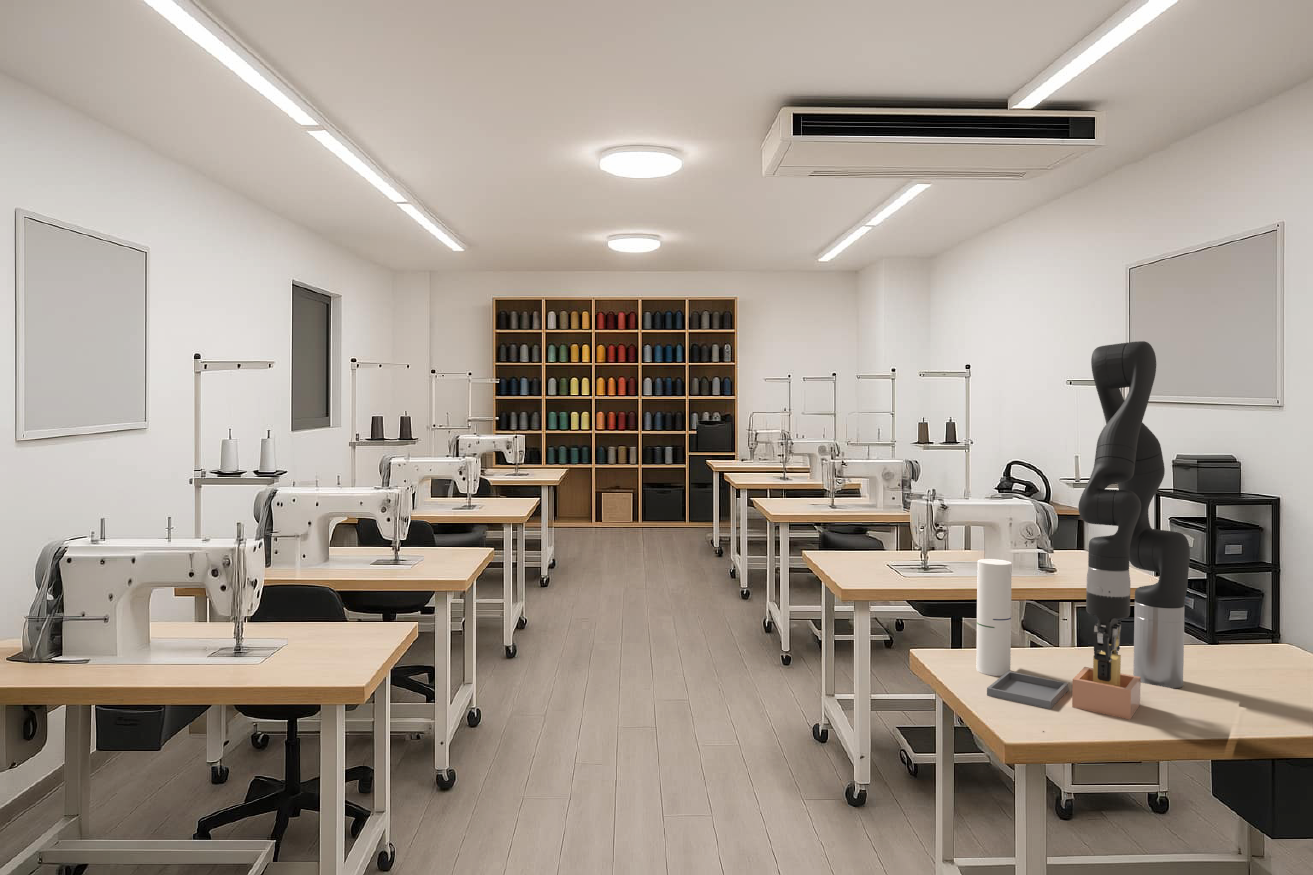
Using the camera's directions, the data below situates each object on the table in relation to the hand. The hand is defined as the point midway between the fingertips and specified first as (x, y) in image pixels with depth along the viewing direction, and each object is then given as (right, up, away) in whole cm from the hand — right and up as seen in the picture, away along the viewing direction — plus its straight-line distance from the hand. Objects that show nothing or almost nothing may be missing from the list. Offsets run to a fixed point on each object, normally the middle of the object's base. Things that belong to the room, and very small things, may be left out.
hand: (1106, 676), depth 159 cm
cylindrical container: (-12, -6, +25) cm, 28 cm away
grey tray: (-12, -7, +8) cm, 16 cm away
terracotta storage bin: (0, -7, 0) cm, 7 cm away
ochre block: (0, -6, 0) cm, 6 cm away
